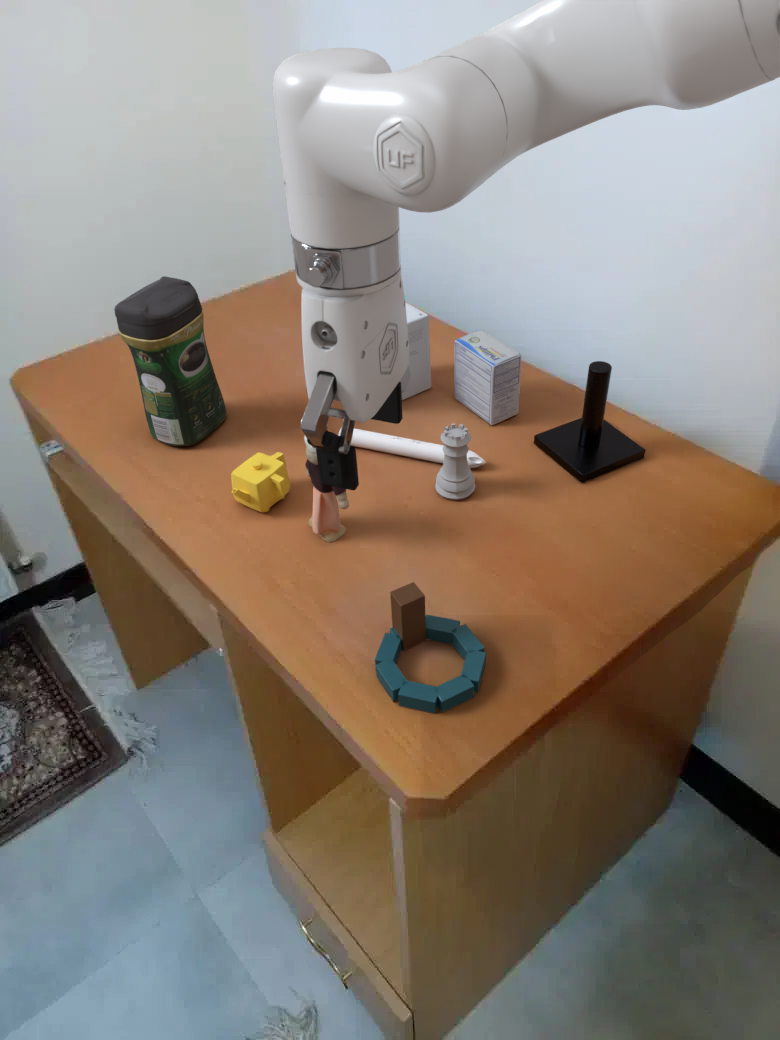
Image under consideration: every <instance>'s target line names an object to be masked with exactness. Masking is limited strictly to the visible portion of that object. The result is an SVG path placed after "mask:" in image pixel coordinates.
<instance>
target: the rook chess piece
mask: <svg viewBox="0 0 780 1040" xmlns="http://www.w3.org/2000/svg"><path fill="white" fill-rule="evenodd" d="M439 439H440V441H441V443H442V444H443V445H444V446H443V449H442V450H443V452H444V462H443V463H442V466H441V467H440V468H439V471H438V472H437V474H436V477H435V485H434V487H435V490H436V492H437V493H438V494H439V495H440V496H441V497H442V498H444V499H446V500H450V501H459V500H465V499H466V498H468V497H469V496H470V495H472V494H473V492H474V491H475V489H476V484H475V481H476V479H475V476H474V473H473V471H472V470H471V468H469V467H468V461H467V453H468V451H469V450H470V448H469V445H468V444H469V443H470V442H471V440H472V435H471V433H469V429H468V427H467V426H466V427H465V425H464V424H462V423H459V424H458V426H456V423H455V422H453V423H450V426H449V425H446V426H445V427H444V430H443V432H442V433H441V434H440V437H439Z"/></svg>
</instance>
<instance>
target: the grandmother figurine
mask: <svg viewBox="0 0 780 1040" xmlns="http://www.w3.org/2000/svg"><path fill="white" fill-rule="evenodd" d="M303 441H304V445H306V447H305V456H306V462H305V475H306V476H307V477H309V478H310V482H311V483H312V487H313V489H312V515H311V517H310V518H309V520H308V526H309V527H310V528H311V529H312V532H313V533H314V534H315V535H317V536H320V538H321V539H322V540H323V541H325V542H327V543H332V542H335V541H337V540H338V539H340V538H341V537H342V536H344V535H345V534H346V532H347V529H346V527H345V526H344V525H343V524H341V523H342V522H341V515H340V511H339V508H340V509H341V510H347V509H348V508H349V506H350V502H349V500H348V495H347V489H344V488H339V487H335V486H330V485H325V484H323V483H322V482H321V481H320V476H319V469H318V461H317V454H316V448H313V447H312V445H310V444H308V442H307V438H306V436H305V435H304V436H303Z"/></svg>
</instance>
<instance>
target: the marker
mask: <svg viewBox="0 0 780 1040" xmlns="http://www.w3.org/2000/svg"><path fill="white" fill-rule="evenodd" d="M341 428H342V426H341V427H340V429H339V432H338V435H339V436H340V433H341ZM444 445H445V444H437V443H433V442H429V441H423V440H419V439H418V440H417V439H412V438H406V437H402V436H397V435H391V434H385V433H381V432H377V431H372V430H371V431H370V430H365V429H360V428H355V427H354V430H353V435H352V440H351V445H350V446H353V447H356V448H361V449H368V450H372V451H378V452H383V453H387V454H393V455H397V456H402V457H407V458H412V459H418V460H423V461H428V462H433V463H438V464H443V462H444V452H443V450H442V449H443V446H444ZM467 461H468V467H469V468H470V469H475V468H479V467H481V466H483V465H485V464H486V463H487V462H486V461H485V459H483V457H481V456H480V455H479V454H477V453H476V452H474V451H472V450H470V449H469V451H468V453H467Z"/></svg>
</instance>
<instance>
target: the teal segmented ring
mask: <svg viewBox="0 0 780 1040" xmlns="http://www.w3.org/2000/svg"><path fill="white" fill-rule="evenodd" d="M389 595H390V611H391V627H389V632H384V635H383V638H382V640H381V642H380V645H379V647H378V650H377V653H376V655H375V658H374V666H375V675H376V678H377V679H378V681H379V682H380V684H381V686H382V687H383V689H384V690H385V692H386V693H387V695H388V697H390V699H391V701H392V702H393V703H394V702H398V706H399V707H403V708H408V709H413V710H417V711H421V712H424V713H425V712H426V713H431V714H437V710H438V709H439V711H440V712H441V713H445V712H446V711H449V710H451V709H453V708H454V707H457V706H459V705H461V704H463V703H465V702H467V701H469V700H471V699H473V698H475V693H479V691H480V687H481V684H482V679H483V676H484V671H485V668H486V662H487V652H485V651H486V646H484V644H483V643H482V642H481V641H480V640H479V638H477V636H476V635H475V634H474V633H473V631H472V630H471V629H470V627H469V626H468V625H467V624H466V623H464V624H462V625H461V621H460V620H458V619H452V618H447V617H442V616H437V615H433V614H432V615H431V614H426V595H425V594H424V592H422V590H421V589H420V588H419V586H418V585H417V584H416V583H415V581H412V582H410V583H407V584H405V585H403V586H401V587H398V588H396V589H393V590H391V591H390V592H389ZM427 640H428V641H433V642H439V643H442V644H443V643H444V644H448V645H452V646H453V647H454V648H455V650H456V651H457V652H458V653H459V655H460V657H461V658H462V659H463V660H464V663H463V666H462V670H461V674H460V675H457V676H455V677H453V678H452V679H449V680H447V681H445V682H443V683H441V684H439V685H437V686H436V685H431V684H425V683H423V682H422V683H421V682H417V681H412V680H407V678H406V676H405V675H404V674H403V672H402V671H401V669H400V668H399V666H398V665H397V664H398V661H399V659H400V656H401V653H402V652H403V651H406V650H408V649H411V648H414V647H416V646H418V645H420V644H422V643H424V642H426V641H427Z"/></svg>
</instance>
